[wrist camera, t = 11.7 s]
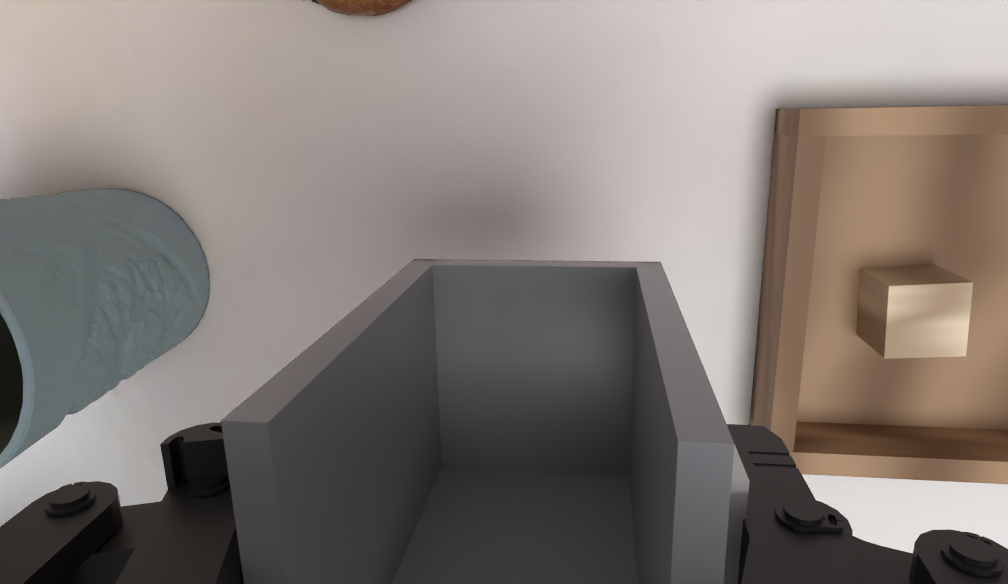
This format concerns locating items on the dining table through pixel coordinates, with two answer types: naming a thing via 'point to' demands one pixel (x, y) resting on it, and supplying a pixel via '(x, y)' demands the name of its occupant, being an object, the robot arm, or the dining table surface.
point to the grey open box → (489, 436)
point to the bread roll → (362, 6)
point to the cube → (914, 311)
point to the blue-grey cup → (87, 301)
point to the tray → (874, 244)
